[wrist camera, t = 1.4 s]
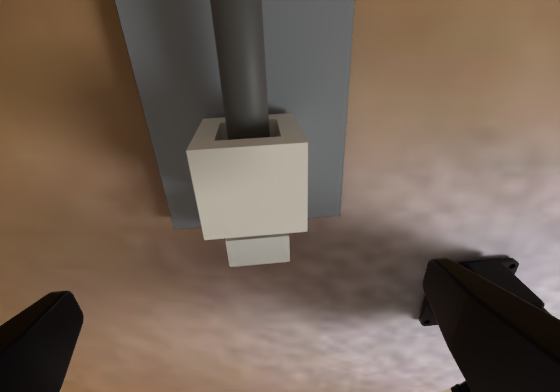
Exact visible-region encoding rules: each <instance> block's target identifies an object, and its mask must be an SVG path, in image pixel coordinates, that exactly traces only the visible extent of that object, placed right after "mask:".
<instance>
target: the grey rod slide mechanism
mask: <svg viewBox="0 0 560 392" xmlns="http://www.w3.org/2000/svg"><path fill="white" fill-rule="evenodd" d="M115 3H116V7H117V10H118V14H119V18H120V22H121V26H122V30H123V33H124V37H125V41H126V45H127V49H128V53H129V57H130V60H131V64H132V68H133V72H134V76H135V80H136V84H137V87H138V91H139V95H140V99H141V103H142V107H143V110H144V114H145V118H146V122H147V126H148V130H149V134H150V137H151V141H152V145H153V149H154V153H155V157H156V160H157V164H158V168H159V172H160V176H161V180H162V184H163V187H164V191H165V195H166V199H167V203H168V207H169V211H170V214H171V218H172V222H173V226H174V229H185V228H197V227H201V222H200V217H199V212H198V207H197V202H196V197H195V192H194V187H193V183H192V178H191V173H190V168H189V163H188V158H187V153H186V150H187V148H188V146H189V144H190V142H191V140H192V138H193V137H194V135H195V133H196V131H197V129H198V127H199V125H200V124H201V122H202V120H203V119H206V118H222V117H225V121H226V128H227V136H228V140H234V139H250V138H265V137H270V131H269V115H271V114H287V113H293V114H294V116H295V118H296V120H297V122H298V124H299V126H300V128H301V130H302V132H303V134H304V136H305V138H306V140H307V141H308V218H321V217H333V216H340V208H341V194H342V179H343V165H344V150H345V136H346V121H347V107H348V92H349V77H350V63H351V48H352V34H353V19H354V5H355V0H115ZM226 248H227V254H228V260H229V266H230V267H236V266H248V265H259V264H270V263H282V262H290V244H289V233H285V234H273V235H261V236H249V237H237V238H226Z"/></svg>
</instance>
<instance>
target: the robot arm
mask: <svg viewBox="0 0 560 392" xmlns="http://www.w3.org/2000/svg"><path fill="white" fill-rule="evenodd" d="M518 266H519V263H518V262H517V261H516V260H515V259H513V258H504V259H493V260H482V261H471V262H460V263H456V262H454V261H452V260H450V259H448V258H434V259H430V260H429V262H428V265H427V268H426V272H425V276H424V280H423V289H424V292H425V294H426V295H425V299H424V303H423V306H422V310H421V313H420V317H419V321H420V323H421V324H422V325H423V326H431V325H439V327H440V330H441V332H442V335H443V337H444V339H445V341H446V344H447V346H448V348H449V350H450V352H451V354H452V356H453V358H454V359H455V361H456V363H457V365H458V367H459V369H460V370H461V372H462V374H463V376H464V378H465V380H466V381H464V382H463V383H461V384H456V385H455V386H453V387H451V391H452V392H560V320H559V319H557V318H556V317H554V316H552V315H551V314H550V313H549V312H548V311H547V310H546V309H545V308H544V303H543V301H542V300H541V299H540V298H538V297H537V296H536V295H535V294H534V293H533V292H532V291H531V290H530V289H529V288H528V287H527V286H526V285H525V284H523V283H522V282H521V281H520V280H519V279H518V278H517V277H516V276H515V275H514V274H515V272H516V270H517V268H518ZM82 324H83V312H82V310H81V308H80V307H79V305H78V303H77V301H76V299H75V297H74V295H73V294H72V293H71V292H70V291H58V292H51V293H49V294H47V295H46V296H44V297H43V298H41V299H40V300H38V301H37V302H35V303H34V304H32V305H31V306H29V307H28V308H26V309H25V310H23V311H22V312H20V313H19V314H17V315H16V316H14V317H13V318H12V319H10V320H9V321H7V322H6V323H4V324H3V325H1V326H0V392H60V389H61V387H62V384H63V381H64V378H65V376H66V372H67V369H68V366H69V363H70V360H71V357H72V354H73V351H74V348H75V345H76V342H77V339H78V336H79V333H80V330H81V327H82Z"/></svg>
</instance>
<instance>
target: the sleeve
mask: <svg viewBox="0 0 560 392" xmlns="http://www.w3.org/2000/svg"><path fill="white" fill-rule="evenodd" d="M269 131H270V137H265V138H250V139H234V140H228V136H227V128H226V121H225V117H222V118H206V119H203V120H202V122H201V124H200V125H199V127H198V129H197V131H196V133H195V135H194V137H193V138H192V140H191V142H190V144H189V146H188V148H187V150H186V153H187V158H188V163H189V168H190V173H191V178H192V183H193V187H194V192H195V197H196V202H197V207H198V212H199V217H200V222H201V227H202V231H203V236H204V240H213V239H225V238H237V237H249V236H261V235H273V234H285V233H297V232H307V228H308V141H307V140H306V138H305V136H304V134H303V132H302V130H301V128H300V126H299V124H298V122H297V120H296V118H295V116H294V114H293V113H287V114H271V115H269Z"/></svg>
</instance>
